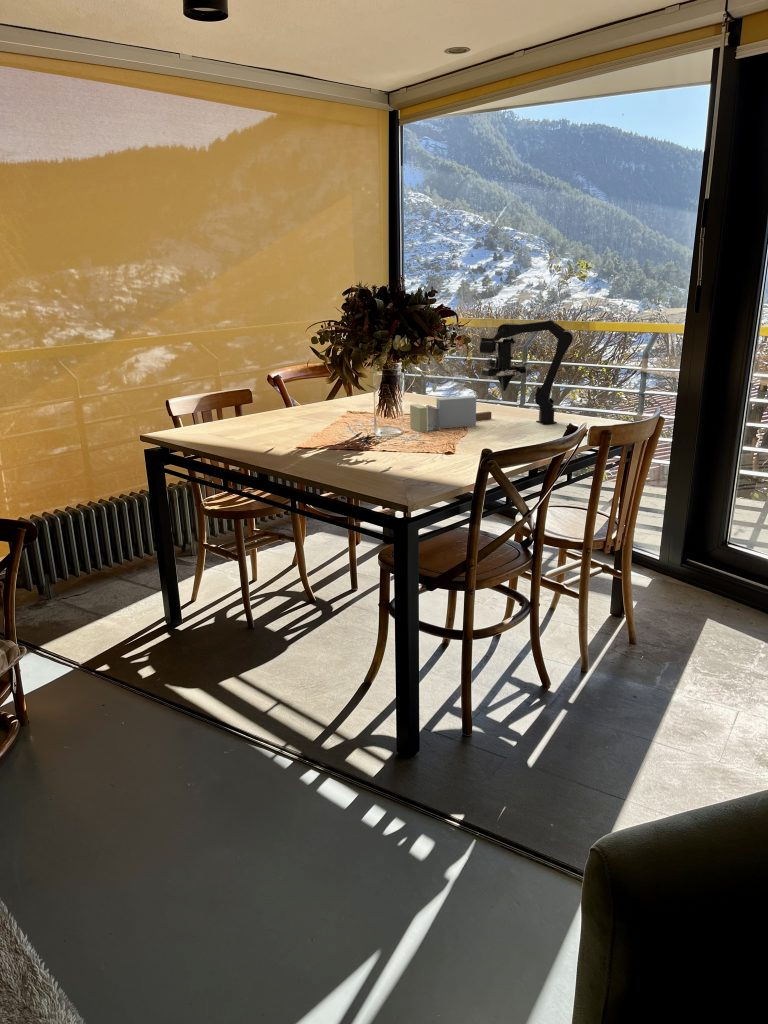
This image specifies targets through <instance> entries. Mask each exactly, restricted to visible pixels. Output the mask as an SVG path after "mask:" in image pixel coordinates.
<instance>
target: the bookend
mask: <svg viewBox="0 0 768 1024" xmlns="http://www.w3.org/2000/svg"><path fill="white" fill-rule="evenodd" d="M425 406H426V407H428V432H434V431H435V432H436V431H439V430H440V428H439V409H438V408H437V406H432V405H429V404H428V405H425Z"/></svg>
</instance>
